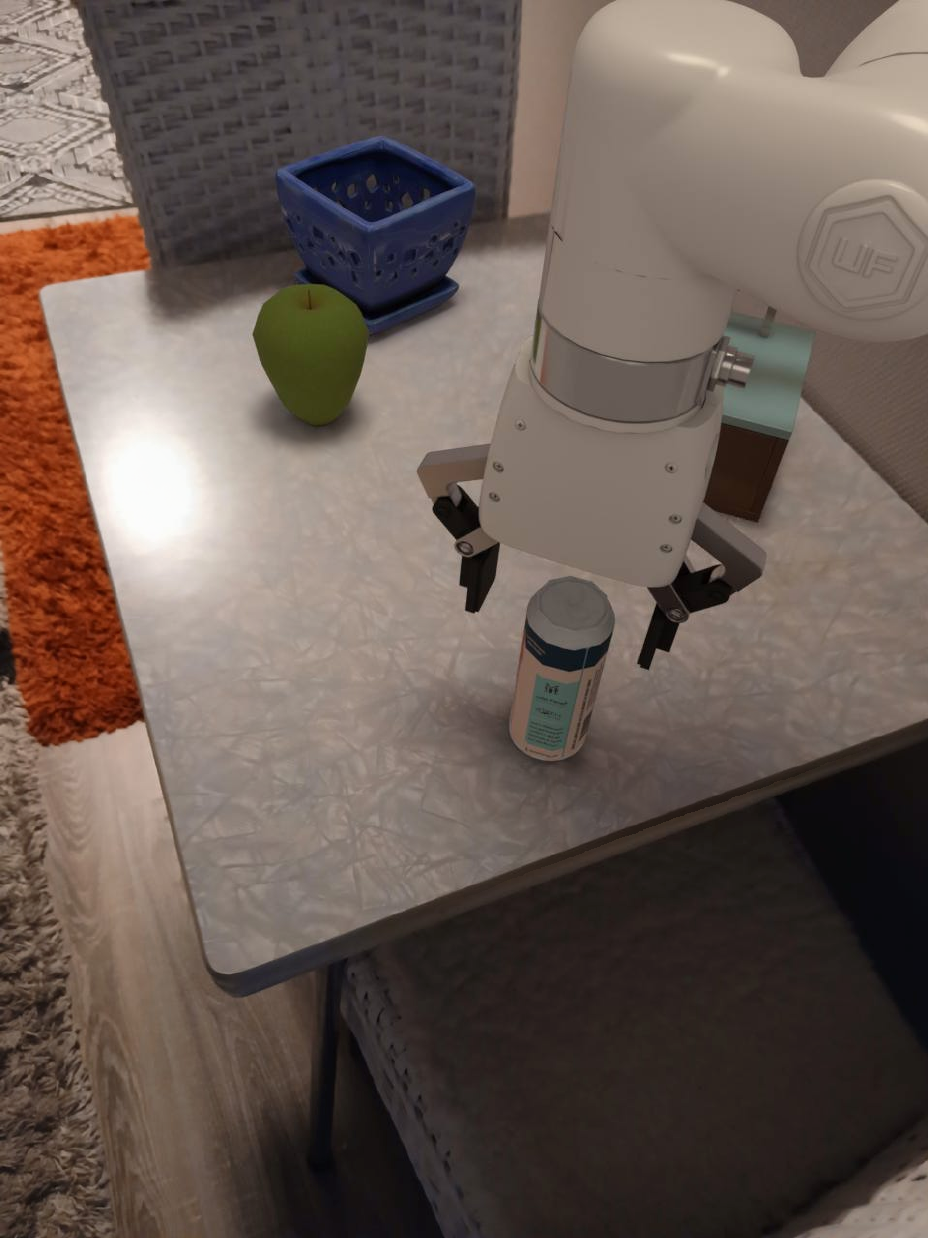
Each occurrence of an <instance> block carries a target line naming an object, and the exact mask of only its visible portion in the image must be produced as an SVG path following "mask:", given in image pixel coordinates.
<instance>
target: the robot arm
mask: <svg viewBox="0 0 928 1238" xmlns="http://www.w3.org/2000/svg"><path fill="white" fill-rule="evenodd" d="M568 77H569V78H568V84H567V92H566V99H565V106H564V113H563V120H562V127H561V135H560V143H559V149H558V156H557V164H556V170H555V178H554V185H553V192H552V200H551V207H550V214H549V220H548V221H549V223H548V230H547V237H546V244H545V245H546V246H545V252H544V260H543V268H542V274H541V281H540V286H539V287H540V289H539V295H538V300H537V307H536V313H535V321H534V326H533V327H534V329H533V334H532V335H530V336H528V337H527V338H526V339H525V340H524V341H523V342H522V345H521V347H520V349H519V351H518V353H517V355H516V359H515V360H514V364H513V367H512V369H511V371H510V374H509V377H508V380H507V382H506V386H505V389H504V392H503V395H502V397H501V401H500V405H499V408H498V412H497V415H496V419H495V424H494V428H493V433H492V437H491V441H490V443H483V444H477V445H476V444H475V445H470V446H469V445H468V446H462V447H456V448H449V449H442V450H441V449H440V450H434V451H429V452H427V454H426V455H425V456H424V458H423V459H422V461H421V462H420V463H419V465H418V467H417V469H416V474H417V477H418V479H419V482H420V483H421V485H422V487H423V489H424V491H425V494H426V496H427V497H428V499H430V500H431V502H432V504H433V505H432V506H431V507H432V508H431V509H432V513H433V515H434V516H435V517H436V519H437V520H438V521H439V522H440V523H441V524H442V526H443V527H444V528H445V529H446V530H447V531H448V533H450V535H451V536H452V538H454V539H455V542H454V543H453V546H454V547H453V548H454V550H455V551H456V553H457V554H459V555H460V556H461V560H460V570H459V582H458V583H459V584H458V585H459V587H463V588H465V589H466V594H465V595H466V596H465V606H464V611H465V612H467V613H471V614H475V613H479V612H480V611H481V609H482V607H483V605H484V603H485V601H486V598H487V597H488V595H489V593H490V590H491V589H492V587H493V584H494V583H495V580H496V576H497V569H498V562H499V555H500V547H501V544H502V545H504V546H506V547H509V548H512V549H514V550H517V551H520V552H523V553H526V554H529V555H532V556H534V557H535V556H536V557H539V558H542V559H545V560H549V561H551V562H554V563H558V564H561V565H564V566H566V567H570V568H574V569H577V570H580V571H584V572H587V573H590V574H594V575H596V576H601V577H603V578H607V579H610V580H614V581H618V582H621V583H625V584H628V585H631V586H636V587H642V588H646V589H647V590H648V592H649V594H650V595H651V597H652V598H653V599H654V601H655V606H654V609H653V612H652V615H651V618H650V621H649V624H648V628H647V631H646V633H645V637H644V639H643V642H642V646H641V650H640V652H639V656H638V658H637V662H636V664H637V665H639V668H640V669H643V670H646V671H650V668H651V666H652V662H653V660H654V656H655V654H656V650H660V651H663V652H666V653H670V652H671V648H672V646H673V644H674V640H675V638H676V634H677V632H678V629H679V626H680V624H683V623H686V622H687V621H688V620H689V618H690V614H694V613H696V612H701V611H705V610H707V609H711V608H714V607H717V606H720V605H724V604H726V603H727V602H729V599H730V597H731V596H732V595H733V594H735V593H736V592H737V593H739V592H740V591H742V590H743V589H745V588H746V587H748V586H749V585H751V584H752V583H754V582H756V581H757V580H758V579H760V578H761V577H762V576H763V573H764V570H765V565H766V561H767V556H768V555H767V552H766V551H765V549H763V548H762V547H761V546H759V545H758V544H757V543H756V542H755V541H753V540H752V539H751V538H749V537H748V536H747V535H745V534H744V533H743V532H742V531H741V530H740V529H738V528H737V527H736V526H734V525H733V524H731V523H730V522H729V521H728V520H727V519H725V518H724V517H723V516H721V515H720V514H719V513H718V512H717V511H715V510H713V509H711V508H710V507H709V506H707V505H706V504H705V503H704V502H703V501H704V498H705V494H706V490H707V486H708V483H709V479H710V475H711V471H712V467H713V464H714V460H715V455H716V451H717V446H718V441H719V435H720V428H721V421H722V413H723V397H724V390H723V387H726V384H729V385H733V386H737V387H741V388H745V386H746V383H747V380H748V377H749V374H750V371H751V368H752V365H753V362H754V359H755V356H754V355H750V354H746V353H742V352H738V351H737V350H738V348H737V347H733V346H729V342H730V338H731V337H727V336H724V333H725V330H726V327H727V323H728V319H729V316H730V313H731V311H732V309H733V307H734V303H735V300H736V296H737V294H738V290H740V291H739V292H742V293H744V294H746V295H748V296H750V297H751V298H753V299H755V300H757V301H758V302H761V303H762V304H764V305H766V306H770V307H772V308H774V309H775V310H777V312H778V313H779V312H780V313H781V314H783V315H785V316H787V317H789V318H790V319H793V320H795V321H797V322H799V323H801V324H803V325H805V326H808V327H811V328H813V329H814V330H818V331H820V332H822V333H825V334H828V335H831V336H835V337H839V338H842V339H846V340H851V341H855V342H862V343H874V344H878V343H879V344H880V343H881V344H882V343H884V344H885V343H896V342H903V341H908V340H912V339H917V338H920V337H922V336H925V335H928V0H897V1H896V2H895V3H894V4H892V5H891V6H890V7H888V9H886V10H885V11H883V12H882V14H880V15H879V16H878V17H876V18H875V19H874V20H873V21H872V22H871V23H870V24H868V25H867V26H866V27H865V28H864V29H863V30H862V31H861V32H860V33H859V34H858V35H856V37H855V38H854V39H853V40H851V42H850V43H849V44H848V45H847V46H846V47H845V48H844V49H843V50H842V52H841V53H840V54H839V55H838V56H837V58H836V59H835V61H834V62H833V63H832V65H831V66H830V68H829V69H828V70H827V71H826V73H825V75H824V76H821V77H809V76H804V75H803V74H802V71H801V65H800V56H799V53H798V51H797V47H796V45H795V43H794V41H793V39H792V37H791V36H790V35H789V34H788V33H787V31H786V30H785V29H784V28H783V26H782V25H780V24H779V22H776V21H775V20H773V19H772V18H771V17H769V16H767V15H765V14H764V13H763V14H762V13H761V12H759V11H757V10H755V9H753V8H751V7H748V6H747V5H744V4H740V3H737V2H734V1H731V0H730V1H729V0H614V1H611V2H610V3H608V4H606V5H604V6H603V7H601V8H600V9H599V10H598V11H596V12H595V13H594V14H593V15H592V16H591V18H590V19H589V20H588V21H587V22H586V24H585V25H584V28H583V29H582V31H581V33H580V34H579V37H578V39H577V42H576V44H575V48H574V51H573V56H572V61H571V67H570V71H569V76H568ZM723 336H724V337H723ZM478 480H479V481H480V480H482V483H481V487H480V488H481V489H480V495H479V503H478V504H476V503H475V501H474V500H473V499H472V498H471V497H470V495H469V494H468V493H467V491H466V490H465V489H464V488H463V487H461V485H459V484H458V483H463V482H469V481H470V482H472V481H478ZM691 541H692V542H693V543H695V544H696V545H697V546H699V547H700V548H701V549H702V550H704V551H705V552H706V553H708V555H710V556H711V557H713V558H714V559H715V560H716V561H718V562H719V563H718V564H715V565H711V566H708V567H704V568H702V569H699V570H696V569H695V568H694V566H693V564H692V561H690V559H689V558H688V556H687V552H688V550H689V548H690V544H691Z"/></svg>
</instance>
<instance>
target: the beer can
mask: <svg viewBox="0 0 928 1238" xmlns="http://www.w3.org/2000/svg"><path fill="white" fill-rule="evenodd" d="M525 611H526V614H525V619H524V624H523V633H522V637H521V638H522V639H521V645H520V651H519V659H518V664H517V671H516V677H515V683H514V689H513V690H514V691H513V697H512V704H511V708H510V709H511V710H510V716H509V721H508V731H509V734H510V735H509V736H510V738H511V740H512V741H513V743H514V745H515V746H516V747H517V748H518V749H519V750H520V751H521V752H523V753H524V754H526V756H527V755H528V756H529V757H531V758H533V759H537V760H540V761H544V762H556V761H557V762H558V761H563V760H565V759H568V758H570V757H572V756H574V755H575V754H576V753H578V752H579V750H580V749H581V747H582V746H583V745H584V743H585V740H586V738H587V734H588V729H589V726H590V723H591V718H592V714H593V710H594V707H595V702H596V699H597V694H598V692H599V687H600V683H601V679H602V677H603V672H604V668H605V664H606V661H607V657H608V653H609V649H610V645H611V641H612V637H613V633H614V629H615V624H616V615H615V611H614V609H613V607H612V604H611V602H610V600H609V597H608V594H607V593H605V591H603V590H602V589H601V588H600V587H599V586H598V585H597V584H596V583H594V581H591V580H587V579H585V578H580V577H576V576H573V575H568V576H563V577H557V578H554V579H553V578H552V579H549V580H548V581H547V582H546V583H545V584H544V585H543V586H541V588H540V589H538V590H537V591H536V592H535V593H534V594H533V595H532V596H531V597H530V599H529V601H528V603H527V606H526V610H525Z"/></svg>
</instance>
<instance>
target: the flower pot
mask: <svg viewBox="0 0 928 1238" xmlns="http://www.w3.org/2000/svg"><path fill="white" fill-rule="evenodd" d="M372 176H373V177H374V179H375V185H374V186H372V187H371V188H370V189H369V186H368V185H367V181H368V180H369V179H370V177H372ZM334 184H335V186H334V188H333V185H334ZM275 185H276V192H277V193H276V194H277V197H278V204H279V208H280V211H281V214H282V219H283V221H284V225H285V227H286V230H287V233H288V235H289V238H290V240H291V243H292V245H293V247H294V249H295V250H296V252H297V255H298V256H299V258H300V259H301V261H302V262H303V264H304V265H305V266H304V267H303V268H300V269H298V270H296V271H295V272H294V273H293V276H294V279H295V281H296V283H297V284H298V285H301V284H320V285H326V286H328V287H331V288H333V289H335V290H337V291H339V292H340V293H341V294H343V295H344V296H346V297H347V298H348V299H350V300H351V301H352V302H353V303H355V304H356V305H357V307H358V308H359V310H360V312H361V313H362V316H363V318H364V320H365V323H366V325H367V328H368V330H369V333H370V334H369V335H375V334H379V333H380V332H383V331H385V330H388V329H389V328H392V327H394V326H396V325H399V324H402V323H403V322H406V321H409V320H410V319H412V318H414V317H417V316H419V315H421V314H423V313H425V312H428V311H430V310H432V309H434V308H436V307H439V306H441V305H443V304H444V303H446V302H447V301H449V300H450V299H451V298H452V297H453V296H455V294H457V292H459V289H460V284H459V282H458V283H457V281H455V280H454V279H453V278H451V277H449V276H448V275H447V274H448V273H449V271H450V270H451V269H452V267H453V265H454V264H455V262H456V260H457V258H458V256H459V254H460V252H461V250H462V247H463V245H464V242H465V240H466V237H467V235H468V231H469V229H470V224H471V221H472V215H473V212H474V206H475V200H476V191H477V188H476V185H475V183H473V182H472V181H471V180H470V179H467V178H466V177H465V176H463V175H462V174H459V173H458V172H456V171H455V170H452V169H451V168H449V167H448V166H445V165H444V164H442V163H440V162H438V161H436V160H435V159H433V158H431V157H429V156H427V155H425V154H423V153H422V152H420V151H417V150H415V149H414V148H411V147H410V146H408V145H406V144H404V143H402V142H400V141H398V140H395V139H392V138H390V137H388V136H385V135H377V136H372V137H370V138H365V139H362V140H359V141H356V142H353V143H348V144H346V145H343V146H340V147H336V148H334V149H331V150H329V151H325V152H322V153H319V154H317V155H314V156H311V157H307V158H305V159H302V160H300V161H299V160H298V161H296V162H294V163H291V164H288V165H285V166H283V167H280V168H278V169H277V170H276V172H275ZM352 185H353V188H354V189H353V190H354V191H353V192H352V193H348V190H349V187H350V186H352ZM425 190H427V191H428V192H429V198H428V199H426V200H425ZM407 193H408V195H409V198H410V200H411V201H412V204H411V206H410V207H407V208H406V207H405V204H404V202H403V198H404V196H405V195H406V194H407ZM337 202H338V203H337ZM365 204H366V205H365ZM391 204H392V208H391V207H390V205H391Z"/></svg>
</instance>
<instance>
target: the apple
mask: <svg viewBox="0 0 928 1238" xmlns="http://www.w3.org/2000/svg"><path fill="white" fill-rule="evenodd" d="M370 335H371V334H370V333H369V330H368V328H367V325H366V323H365V320H364V318H363V316H362V313H361V312H360V310H359V308H358V307H357V305H356V304H355V303H353V302H352V301H351V300H350V299H348V298H347V297H346V296H344V295H343V294H341V293H340V292H339V291H337V290H335V289H333V288H331V287H328V286H326V285H320V284H301V285H299V284H293V285H290V286H287V287H284V288H282V289H280V290H279V291H278V292H276V293H275V294H273V295H272V296H271V297H269V298H268V299H267V300H266V301H264V302H263V303H262V306H261V308H260V311H259V313H258V316H257V319H256V322H255V325H254V328H253V330H252V338H253V342H254V344H255V348H256V352H257V354H258V358H259V361H260V365H261V367H262V369H263V371H264V373H265V375H266V377H267V379H268V380H269V382H270V384H271V387H273V389H274V391H275V393H276V394H277V396H278V398H279V400H280V402H281V404H282V406H283V407H284V408H285V409H287V411H289V413H290V414H292V415H294V416H295V417H297V418H298V419H299V420H301V421H302V422H304V423H306V424H308V425H310V426H317V427H319V426H324V425H327V424H330V423H332V422H334V421H336V420H337V418H338V417H340V415H341V414H342V413H343V412H344V411H345V410H346V409H347V408H348V407H349V405H350V404H351V403H350V402H351V400H352V398H353V395H354V392H355V390H356V389H357V388H356V387H357V385H358V382H359V379H360V377H361V375H362V371H363V367H364V364H365V359H366V355H367V354H366V353H367V350H368V349H367V348H368V344H369V339H370Z"/></svg>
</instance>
